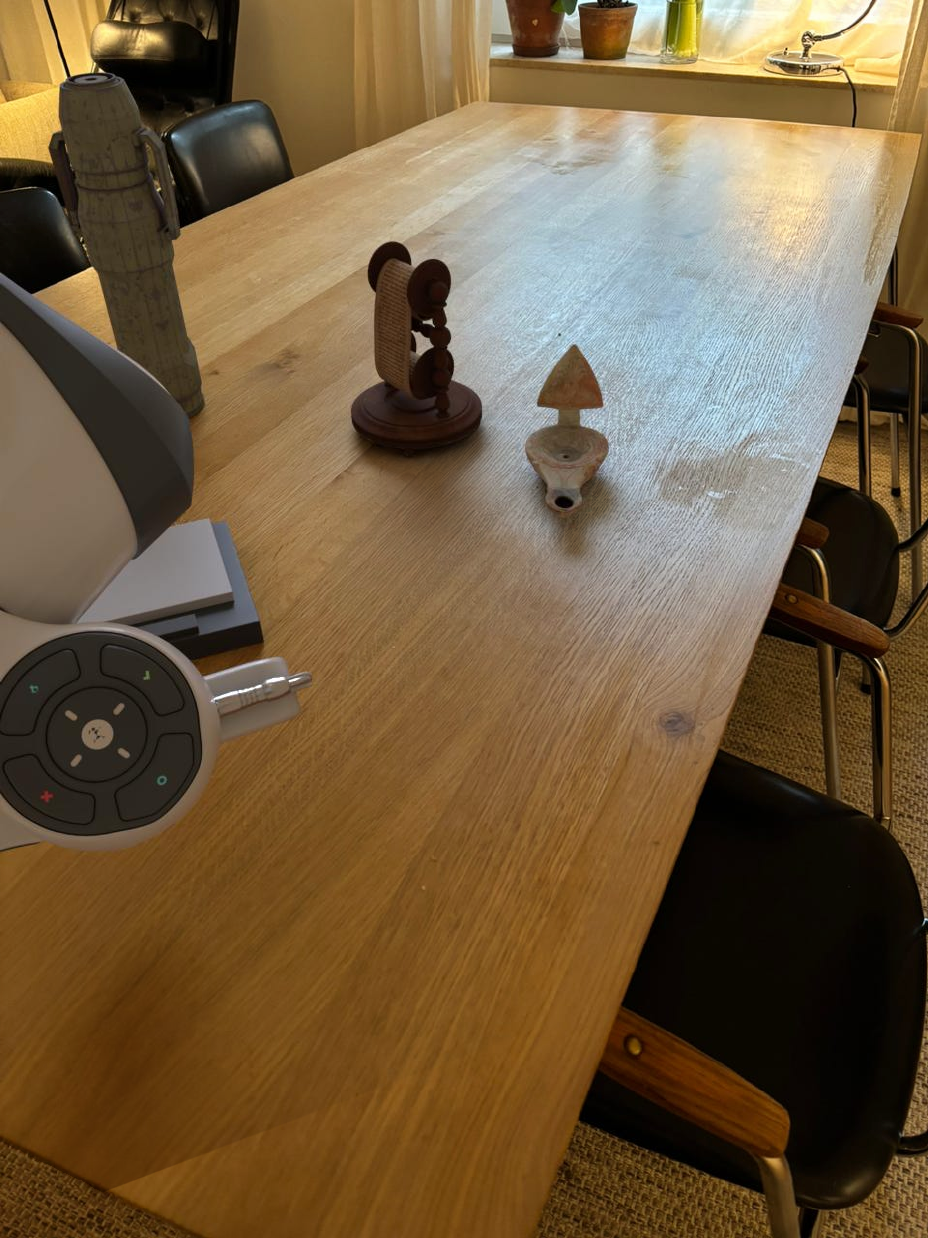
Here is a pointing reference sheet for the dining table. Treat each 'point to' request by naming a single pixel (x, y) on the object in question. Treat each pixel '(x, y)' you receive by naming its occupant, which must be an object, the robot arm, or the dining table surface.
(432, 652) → the dining table surface
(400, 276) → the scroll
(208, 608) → the scale
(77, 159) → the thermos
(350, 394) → the dining table surface
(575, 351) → the oil lamp
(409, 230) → the dining table surface
